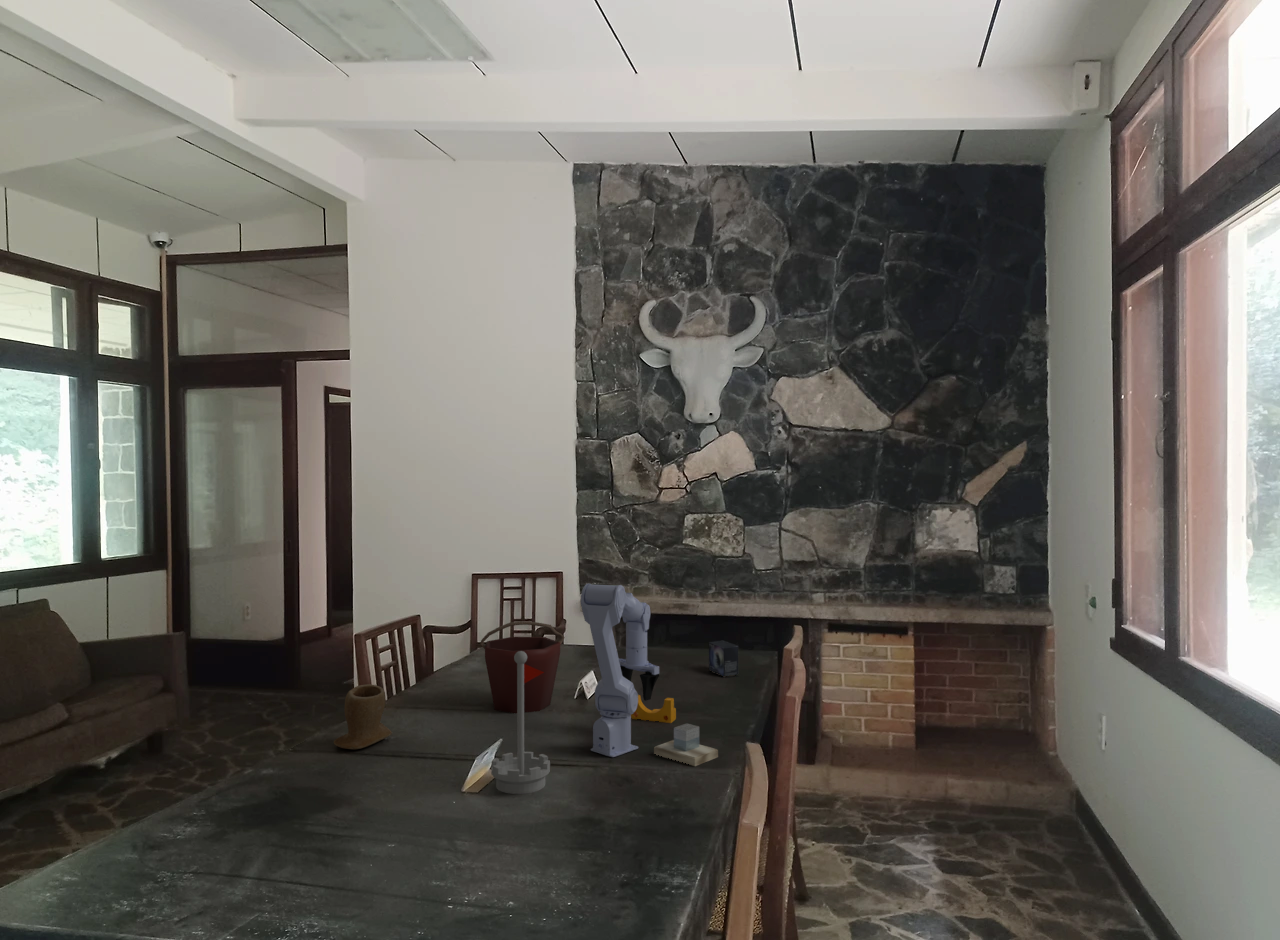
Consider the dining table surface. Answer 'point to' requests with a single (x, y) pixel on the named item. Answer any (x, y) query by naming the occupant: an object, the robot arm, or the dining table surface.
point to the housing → (686, 737)
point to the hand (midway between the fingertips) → (636, 697)
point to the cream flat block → (686, 753)
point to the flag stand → (521, 747)
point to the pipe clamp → (656, 712)
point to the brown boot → (363, 717)
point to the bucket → (539, 656)
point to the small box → (723, 658)
